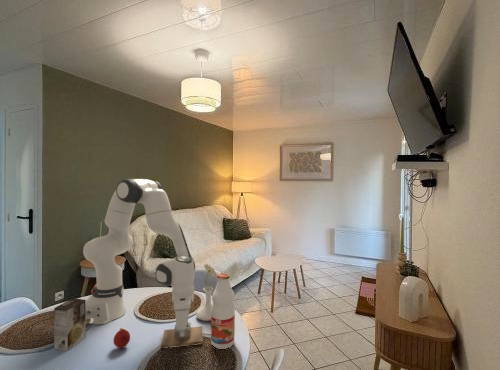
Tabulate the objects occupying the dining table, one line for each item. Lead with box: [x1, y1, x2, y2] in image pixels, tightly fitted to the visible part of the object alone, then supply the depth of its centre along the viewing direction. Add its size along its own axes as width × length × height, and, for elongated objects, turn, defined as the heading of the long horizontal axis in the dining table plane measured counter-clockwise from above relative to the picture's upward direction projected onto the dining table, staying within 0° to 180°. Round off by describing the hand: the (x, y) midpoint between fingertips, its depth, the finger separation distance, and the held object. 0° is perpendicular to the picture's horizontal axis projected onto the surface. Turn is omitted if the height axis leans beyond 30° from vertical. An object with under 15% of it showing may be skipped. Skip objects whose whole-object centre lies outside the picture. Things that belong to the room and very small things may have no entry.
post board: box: [160, 326, 204, 349], centre depth 110 cm, size 16×11×9 cm
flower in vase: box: [195, 263, 217, 322], centre depth 129 cm, size 13×11×25 cm
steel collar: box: [173, 321, 192, 340], centre depth 110 cm, size 6×6×4 cm
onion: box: [113, 327, 131, 349], centre depth 104 cm, size 6×6×8 cm
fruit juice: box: [210, 272, 236, 350], centre depth 108 cm, size 9×9×28 cm
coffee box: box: [53, 297, 87, 352], centre depth 106 cm, size 9×6×16 cm
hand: (182, 329), depth 110 cm, fingers open, 8 cm apart
